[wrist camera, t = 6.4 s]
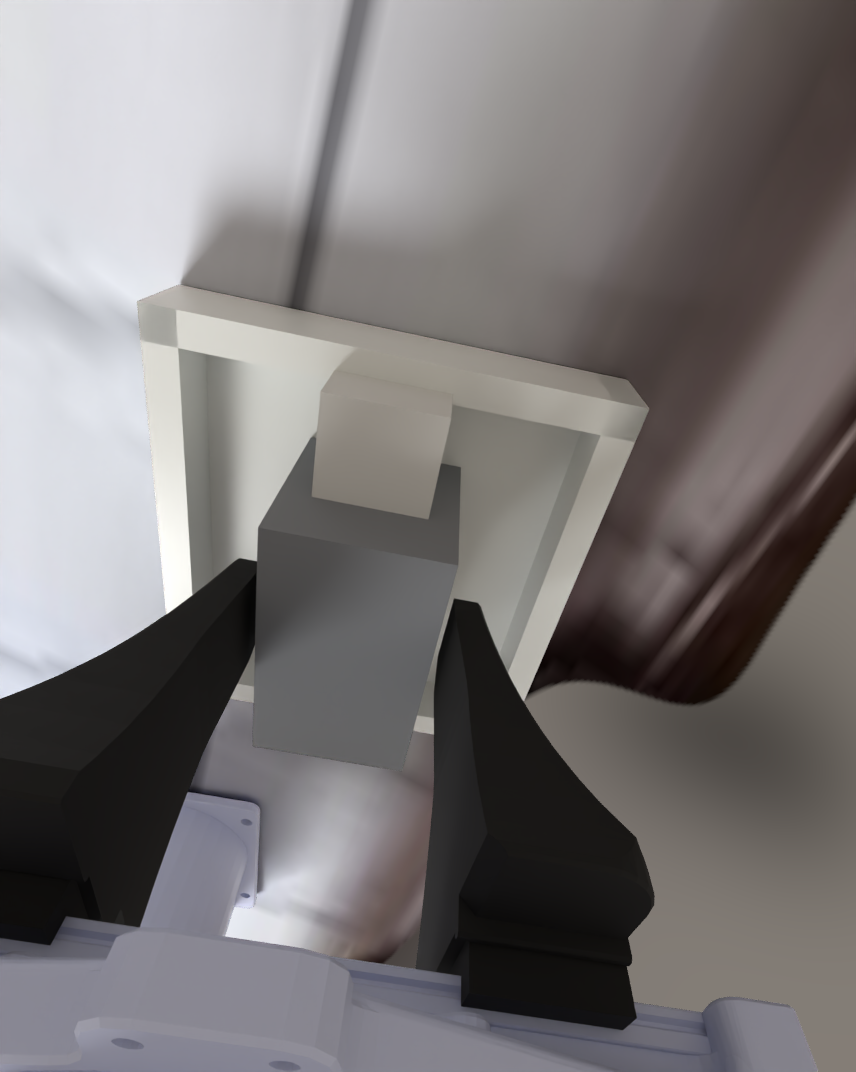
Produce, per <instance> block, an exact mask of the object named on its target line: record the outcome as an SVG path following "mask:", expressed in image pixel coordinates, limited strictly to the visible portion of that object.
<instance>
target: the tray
mask: <svg viewBox="0 0 856 1072" xmlns="http://www.w3.org/2000/svg"><path fill="white" fill-rule="evenodd" d="M137 308H138V319H139V329H140V340H141V351H142V361H143V372H144V383H145V393H146V404H147V415H148V425H149V436H150V447H151V457H152V468H153V479H154V490H155V500H156V511H157V522H158V532H159V543H160V554H161V564H162V575H163V586H164V596H165V607H166V614H167V613H169V612H170V611H172V610H173V609H175V608H176V607H177V606H179V605H180V604H181V603H183V602H184V601H185V600H187V599H188V598H189V597H191V596H192V595H193V594H195V593H196V592H197V591H198V590H200V589H201V588H202V587H204V586H205V585H206V584H207V583H209V582H210V581H211V580H212V579H213V578H215V577H216V576H217V575H218V574H220V573H221V572H222V571H223V570H224V569H226V568H227V567H228V566H229V565H230V564H232V563H233V562H234V561H235V560H237V559H239V558H242V559H247V560H253V561H257V543H258V526H259V525H260V523H261V521H262V520H263V518H264V516H265V515H266V513H267V511H268V509H269V508H270V506H271V504H272V503H273V501H274V499H275V497H276V496H277V494H278V492H279V491H280V489H281V487H282V486H283V484H284V482H285V480H286V479H287V477H288V475H289V474H290V472H291V470H292V469H293V467H294V465H295V463H296V462H297V460H298V458H299V457H300V455H301V453H302V452H303V450H304V448H305V446H306V445H307V443H308V441H309V440H310V438H311V437H312V438H317V426H318V414H319V402H320V391H321V390H322V388H323V387H324V385H325V384H326V382H327V381H328V379H329V378H330V376H331V375H332V373H333V372H334V370H338V371H342V372H347V373H352V374H357V375H362V376H367V377H372V378H376V379H381V380H386V381H391V382H396V383H401V384H405V385H410V386H415V387H420V388H425V389H430V390H434V391H439V392H444V393H449V394H453V399H452V413H451V421H450V426H449V430H448V434H447V439H446V443H445V448H444V452H443V457H442V461H441V463H442V464H447V465H452V466H457V467H461V484H460V523H459V562H458V569H457V573H456V576H455V580H454V583H453V587H452V591H451V594H450V598H449V602H448V605H447V609H446V613H445V616H444V620H443V623H442V627H441V631H440V634H439V638H438V642H437V645H436V649H435V653H434V656H433V660H432V663H431V667H430V671H429V674H428V678H427V682H426V685H425V689H424V693H423V696H422V700H421V703H420V707H419V711H418V714H417V718H416V722H415V725H414V729H413V731H417V732H423V733H428V734H434V685H435V676H436V667H437V658H438V653H439V650H440V646H441V643H442V639H443V636H444V632H445V629H446V625H447V621H448V618H449V614H450V611H451V607H452V604H453V600H454V598H455V599H461V600H466V601H471V602H477V603H479V605H480V606H481V608H482V611H483V614H484V617H485V620H486V623H487V626H488V628H489V631H490V634H491V636H492V639H493V641H494V643H495V646H496V648H497V650H498V653H499V655H500V657H501V659H502V661H503V663H504V665H505V668H506V670H507V672H508V674H509V676H510V678H511V680H512V682H513V684H514V685H515V687H516V689H517V691H518V693H519V695H520V696H521V698H522V700H523V702H524V700H525V697H526V695H527V693H528V690H529V688H530V686H531V683H532V681H533V679H534V676H535V674H536V672H537V669H538V667H539V665H540V662H541V660H542V658H543V655H544V653H545V651H546V649H547V646H548V644H549V642H550V639H551V637H552V635H553V632H554V630H555V628H556V625H557V623H558V621H559V618H560V616H561V614H562V611H563V609H564V607H565V604H566V602H567V600H568V597H569V595H570V593H571V590H572V588H573V586H574V583H575V581H576V579H577V576H578V574H579V572H580V569H581V567H582V565H583V562H584V560H585V558H586V555H587V553H588V551H589V548H590V546H591V544H592V541H593V539H594V537H595V534H596V532H597V530H598V528H599V525H600V523H601V521H602V518H603V516H604V514H605V511H606V509H607V507H608V504H609V502H610V500H611V497H612V495H613V493H614V490H615V488H616V486H617V483H618V481H619V479H620V476H621V474H622V472H623V469H624V467H625V465H626V462H627V460H628V458H629V455H630V453H631V451H632V448H633V446H634V444H635V441H636V439H637V437H638V434H639V432H640V430H641V427H642V425H643V423H644V420H645V418H646V416H647V413H648V411H649V407H648V406H647V405H646V404H645V402H644V401H643V400H642V398H641V397H640V396H639V394H638V393H637V392H636V390H635V389H634V388H633V386H632V385H631V384H630V382H629V381H628V380H626V379H622V378H617V377H612V376H608V375H603V374H598V373H593V372H589V371H584V370H579V369H575V368H570V367H565V366H560V365H556V364H551V363H546V362H542V361H537V360H532V359H527V358H523V357H518V356H513V355H509V354H504V353H499V352H494V351H490V350H485V349H480V348H476V347H471V346H466V345H461V344H457V343H452V342H447V341H443V340H438V339H433V338H428V337H424V336H419V335H414V334H410V333H405V332H400V331H396V330H391V329H386V328H381V327H377V326H372V325H367V324H363V323H358V322H353V321H348V320H344V319H339V318H334V317H330V316H325V315H320V314H315V313H311V312H306V311H301V310H297V309H292V308H287V307H282V306H278V305H273V304H268V303H264V302H259V301H254V300H249V299H245V298H240V297H235V296H231V295H226V294H221V293H216V292H212V291H207V290H202V289H198V288H193V287H188V286H183V285H176V286H174V287H171V288H169V289H166V290H164V291H161V292H159V293H156V294H154V295H151V296H149V297H146V298H144V299H141V300H139V301H137ZM254 667H255V646H254V649H253V651H252V654H251V657H250V660H249V662H248V664H247V666H246V668H245V670H244V672H243V674H242V676H241V678H240V680H239V682H238V684H237V686H236V688H235V690H234V692H233V694H232V696H231V698H230V699H233V700H239V701H244V702H250V703H254Z"/></svg>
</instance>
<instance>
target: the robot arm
mask: <svg viewBox="0 0 856 1072" xmlns="http://www.w3.org/2000/svg"><path fill="white" fill-rule="evenodd" d="M256 585H257V561H253V560H247V559H242V558H239V559H237V560H235V561H234V562H233V563H232V564H230V565H229V566H228V567H227V568H226V569H224V570H223V571H222V572H221V573H220V574H218V575H217V576H216V577H215V578H213V579H212V580H211V581H210V582H209V583H207V584H206V585H205V586H204V587H202V588H201V589H200V590H198V591H197V592H196V593H195V594H193V595H192V596H191V597H189V598H188V599H187V600H185V601H184V602H183V603H181V604H180V605H179V606H177V607H176V608H175V609H173V610H172V611H170V612H169V613H167V614H166V615H164V616H163V617H162V618H160V619H159V620H157V621H156V622H154V623H153V624H151V625H150V626H148V627H147V628H145V629H144V630H142V631H141V632H139V633H137V634H136V635H134V636H133V637H131V638H129V639H128V640H126V641H124V642H123V643H121V644H119V645H117V646H116V647H114V648H112V649H110V650H109V651H107V652H105V653H103V654H101V655H99V656H97V657H95V658H93V659H91V660H89V661H87V662H85V663H83V664H81V665H79V666H77V667H75V668H73V669H71V670H69V671H67V672H65V673H63V674H60V675H58V676H56V677H54V678H51V679H49V680H47V681H44V682H42V683H40V684H37V685H35V686H33V687H30V688H27V689H25V690H22V691H20V692H17V693H15V694H12V695H10V696H7V697H4V698H2V699H0V1072H819V1071H818V1068H817V1066H816V1063H815V1061H814V1058H813V1056H812V1053H811V1050H810V1048H809V1045H808V1043H807V1040H806V1038H805V1035H804V1032H803V1030H802V1027H801V1025H800V1022H799V1020H798V1017H797V1015H796V1012H795V1010H794V1009H793V1008H792V1007H791V1006H789V1005H786V1004H780V1003H773V1002H766V1001H760V1000H753V999H747V998H740V997H724V998H719V999H716V1000H714V1001H712V1002H711V1003H710V1004H709V1005H708V1006H707V1007H706V1008H705V1009H704V1011H703V1012H696V1011H690V1010H683V1009H676V1008H669V1007H663V1006H656V1005H650V1004H643V1003H636V1002H634V1001H633V996H632V991H631V986H630V981H629V975H628V970H627V966H630V965H631V963H632V955H631V950H630V945H629V940H628V937H629V936H630V935H631V933H632V932H633V931H634V930H635V929H636V928H637V927H638V926H639V925H640V924H641V922H642V921H643V920H644V919H645V918H646V917H647V915H648V914H649V912H650V911H651V909H652V907H653V906H654V892H653V887H652V884H651V880H650V876H649V872H648V869H647V866H646V863H645V860H644V857H643V855H642V852H641V850H640V847H639V844H638V842H637V838H636V837H635V836H634V835H633V834H632V833H630V831H629V830H628V829H627V828H626V827H625V826H624V825H623V824H622V823H621V822H620V821H618V819H616V818H615V817H614V816H613V815H612V814H611V813H610V812H609V811H608V810H607V809H606V808H605V807H604V806H603V805H602V804H601V803H600V802H599V801H598V800H597V799H596V798H595V796H594V795H593V794H592V793H591V792H590V791H589V790H588V789H587V788H586V787H585V785H584V784H583V783H582V782H581V781H580V780H579V779H578V777H577V776H576V775H575V774H574V772H573V771H572V770H571V769H570V767H569V766H568V765H567V764H566V763H565V761H564V760H563V759H562V758H561V756H560V755H559V754H558V753H557V751H556V750H555V749H554V747H553V746H552V745H551V743H550V742H549V740H548V739H547V738H546V736H545V735H544V733H543V732H542V730H541V729H540V727H539V726H538V724H537V723H536V721H535V720H534V718H533V717H532V715H531V713H530V712H529V710H528V708H527V707H526V705H525V703H524V702H523V700H522V698H521V696H520V695H519V693H518V691H517V689H516V687H515V685H514V684H513V682H512V680H511V678H510V676H509V674H508V672H507V670H506V668H505V665H504V663H503V661H502V659H501V657H500V655H499V653H498V650H497V648H496V646H495V643H494V641H493V639H492V636H491V634H490V631H489V628H488V626H487V623H486V620H485V617H484V614H483V611H482V608H481V606H480V605H479V603H477V602H471V601H466V600H461V599H455V598H454V600H453V604H452V607H451V611H450V614H449V618H448V621H447V625H446V629H445V632H444V636H443V639H442V643H441V646H440V650H439V653H438V658H437V667H436V676H435V685H434V795H433V807H432V818H431V829H430V840H429V850H428V860H427V871H426V880H425V890H424V899H423V909H422V918H421V927H420V935H419V944H418V953H417V961H416V969H411V968H405V967H398V966H392V965H385V964H378V963H372V962H365V961H359V960H352V959H345V958H339V957H332V956H328V955H325V954H321V953H318V952H314V951H310V950H306V949H303V948H297V947H290V946H284V945H277V944H270V943H264V942H257V941H250V940H244V939H237V938H231V937H225V934H226V931H227V928H228V925H229V922H230V919H231V915H232V912H233V909H234V907H240V908H252V907H254V905H255V902H256V899H257V878H258V854H259V830H260V808H259V807H258V806H257V805H256V804H254V803H251V802H246V801H240V800H234V799H228V798H222V797H216V796H210V795H204V794H198V793H192V792H188V790H189V787H190V785H191V782H192V780H193V777H194V774H195V772H196V769H197V767H198V764H199V762H200V759H201V756H202V754H203V752H204V750H205V748H206V745H207V743H208V741H209V739H210V737H211V735H212V733H213V731H214V729H215V727H216V725H217V723H218V721H219V719H220V717H221V715H222V713H223V711H224V709H225V707H226V705H227V703H228V701H229V700H230V698H231V696H232V694H233V692H234V690H235V688H236V686H237V684H238V682H239V680H240V678H241V676H242V674H243V672H244V670H245V668H246V666H247V664H248V662H249V660H250V657H251V654H252V651H253V649H254V646H255V626H256Z"/></svg>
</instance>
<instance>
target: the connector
mask: <svg viewBox="0 0 856 1072" xmlns="http://www.w3.org/2000/svg"><path fill="white" fill-rule="evenodd" d="M452 399H453V394H449V393H444V392H439V391H434V390H430V389H425V388H420V387H415V386H410V385H405V384H401V383H396V382H391V381H386V380H381V379H376V378H372V377H367V376H362V375H357V374H352V373H347V372H342V371H338V370H334V372H333V373H332V375H331V376H330V378H329V379H328V381H327V382H326V384H325V385H324V387H323V388H322V390H321V391H320V402H319V414H318V426H317V438H312V437H311V438H310V440H309V441H308V443H307V445H306V446H305V448H304V450H303V452H302V453H301V455H300V457H299V458H298V460H297V462H296V463H295V465H294V467H293V469H292V470H291V472H290V474H289V475H288V477H287V479H286V480H285V482H284V484H283V486H282V487H281V489H280V491H279V492H278V494H277V496H276V497H275V499H274V501H273V503H272V504H271V506H270V508H269V509H268V511H267V513H266V515H265V516H264V518H263V520H262V521H261V523H260V525H259V526H258V543H257V585H256V626H255V667H254V708H253V746H254V747H260V748H266V749H272V750H278V751H284V752H289V753H295V754H301V755H307V756H313V757H319V758H325V759H331V760H337V761H343V762H348V763H354V764H360V765H366V766H372V767H378V768H384V769H390V770H396V771H402V769H403V765H404V762H405V758H406V754H407V751H408V747H409V743H410V740H411V736H412V733H413V729H414V725H415V722H416V718H417V714H418V711H419V707H420V703H421V700H422V696H423V693H424V689H425V685H426V682H427V678H428V674H429V671H430V667H431V663H432V660H433V656H434V653H435V649H436V645H437V642H438V638H439V634H440V631H441V627H442V623H443V620H444V616H445V613H446V609H447V605H448V602H449V598H450V594H451V591H452V587H453V583H454V580H455V576H456V573H457V569H458V562H459V523H460V484H461V467H457V466H452V465H447V464H442V463H441V461H442V457H443V452H444V448H445V443H446V439H447V434H448V430H449V426H450V421H451V413H452Z"/></svg>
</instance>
